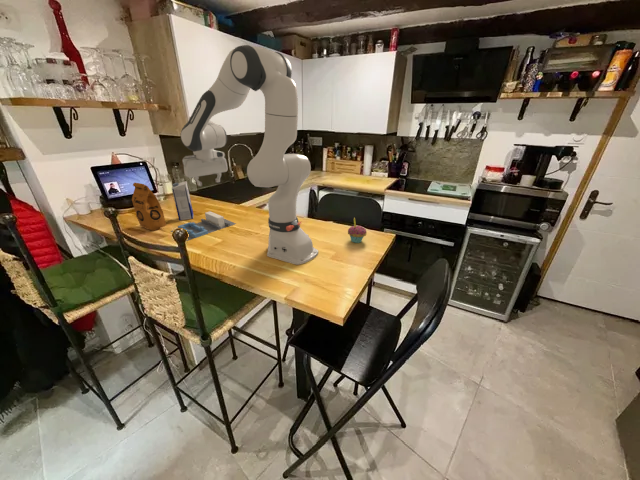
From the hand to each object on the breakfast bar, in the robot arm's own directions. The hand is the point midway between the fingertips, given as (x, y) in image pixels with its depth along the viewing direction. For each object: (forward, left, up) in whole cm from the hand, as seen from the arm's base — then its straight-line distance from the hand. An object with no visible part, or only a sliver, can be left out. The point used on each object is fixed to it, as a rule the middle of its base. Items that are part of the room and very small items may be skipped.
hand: (209, 183), depth 125 cm
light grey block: (0, +1, -21) cm, 21 cm away
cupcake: (-65, -31, -22) cm, 76 cm away
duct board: (0, +7, -22) cm, 23 cm away
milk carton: (+20, +6, -22) cm, 30 cm away
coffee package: (+22, +22, -22) cm, 38 cm away
